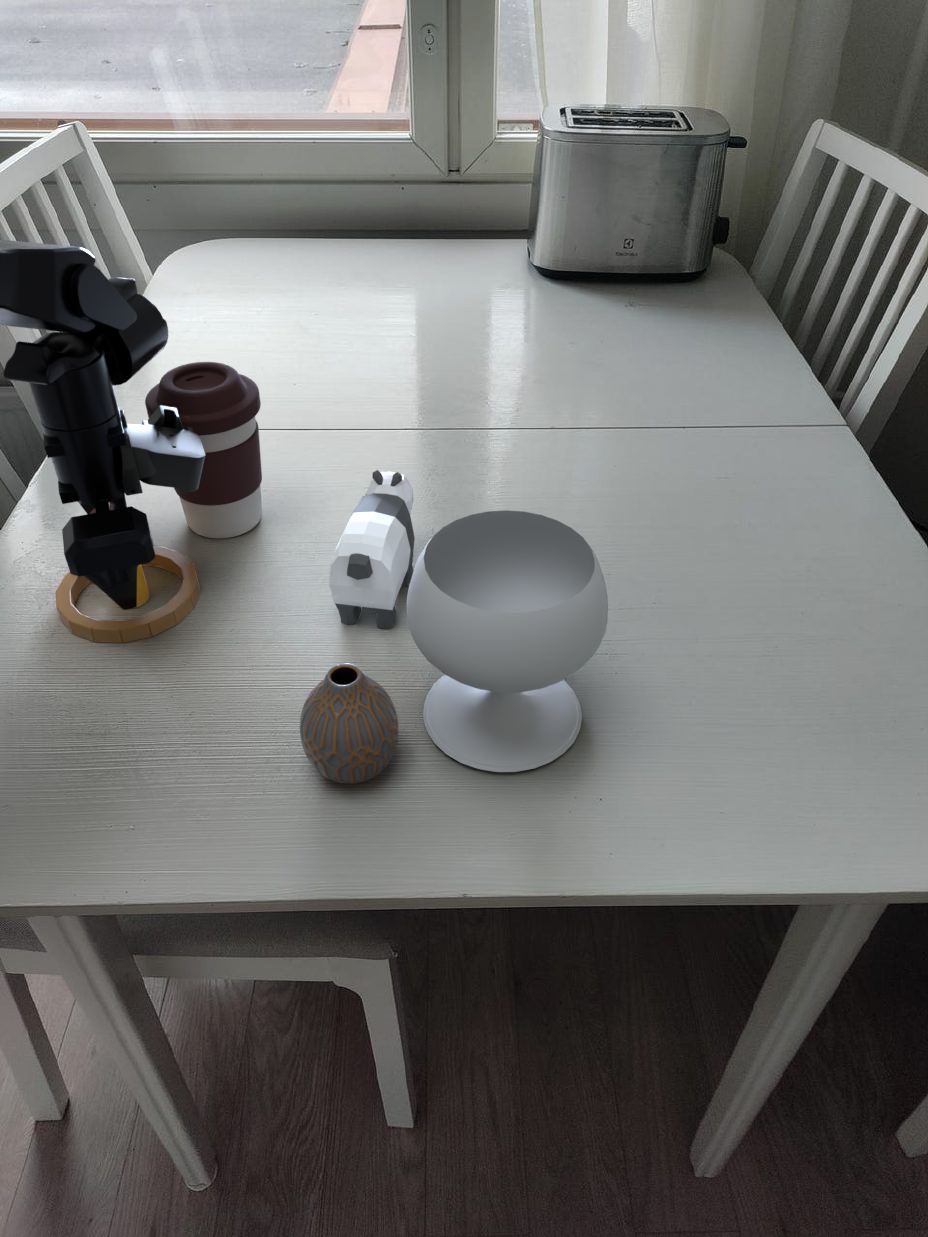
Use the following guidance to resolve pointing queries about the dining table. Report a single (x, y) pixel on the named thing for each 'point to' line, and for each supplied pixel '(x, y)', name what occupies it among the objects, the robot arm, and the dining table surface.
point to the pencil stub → (141, 582)
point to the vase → (348, 726)
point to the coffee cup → (217, 444)
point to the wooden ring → (139, 625)
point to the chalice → (506, 635)
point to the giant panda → (375, 551)
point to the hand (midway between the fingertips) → (124, 576)
